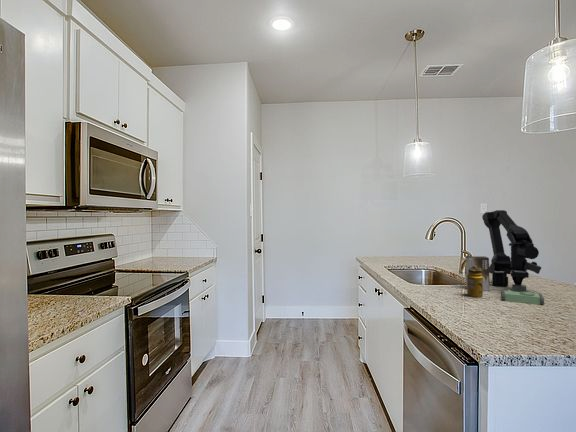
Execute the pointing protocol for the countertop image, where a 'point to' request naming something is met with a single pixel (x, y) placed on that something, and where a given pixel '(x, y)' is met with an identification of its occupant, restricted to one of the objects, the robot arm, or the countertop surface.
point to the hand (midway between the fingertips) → (518, 289)
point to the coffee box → (479, 268)
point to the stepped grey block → (518, 288)
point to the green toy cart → (522, 297)
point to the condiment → (474, 284)
